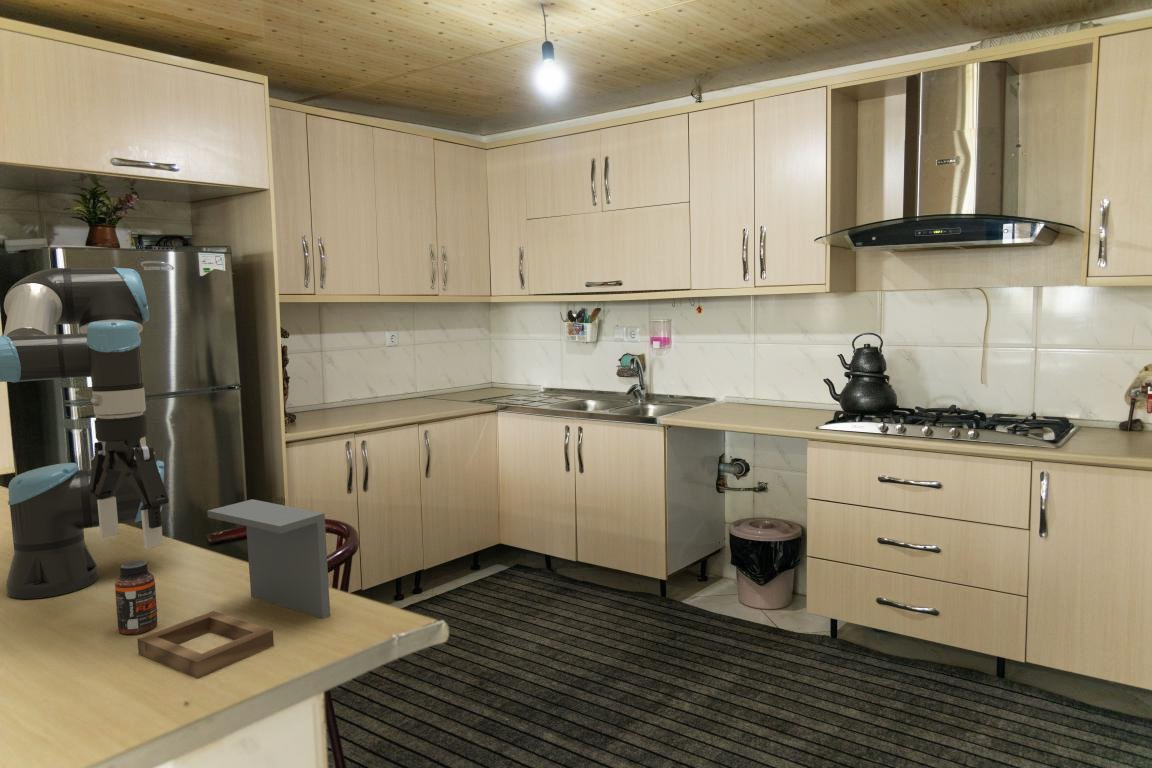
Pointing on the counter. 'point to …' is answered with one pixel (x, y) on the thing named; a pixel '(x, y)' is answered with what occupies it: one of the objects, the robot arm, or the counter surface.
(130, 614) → the supplement bottle
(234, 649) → the wooden frame
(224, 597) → the counter surface
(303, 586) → the grey l-shaped bracket
